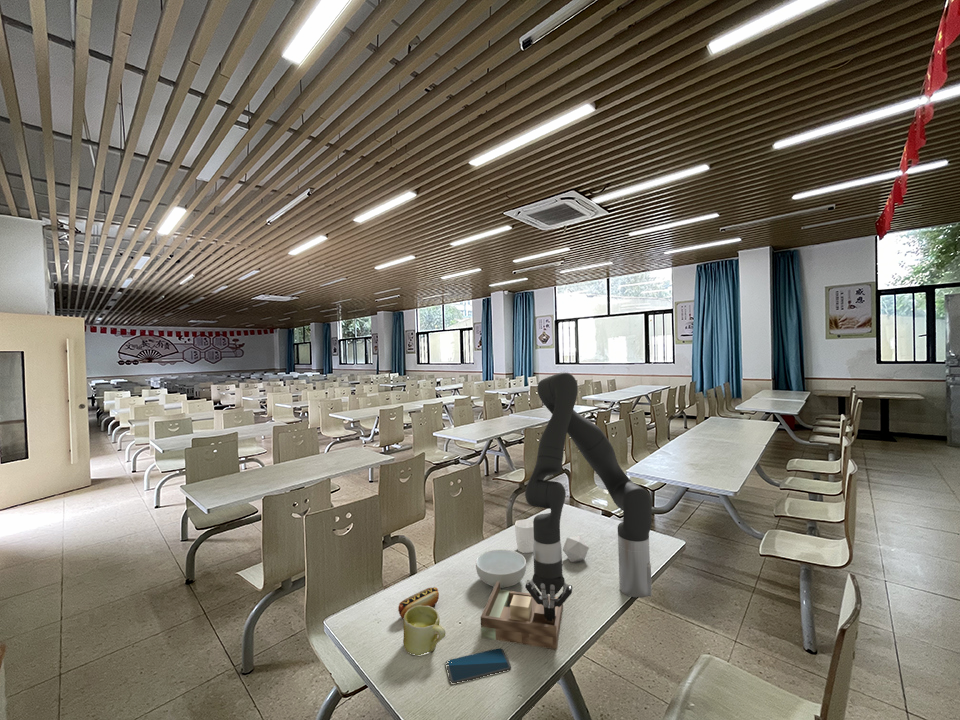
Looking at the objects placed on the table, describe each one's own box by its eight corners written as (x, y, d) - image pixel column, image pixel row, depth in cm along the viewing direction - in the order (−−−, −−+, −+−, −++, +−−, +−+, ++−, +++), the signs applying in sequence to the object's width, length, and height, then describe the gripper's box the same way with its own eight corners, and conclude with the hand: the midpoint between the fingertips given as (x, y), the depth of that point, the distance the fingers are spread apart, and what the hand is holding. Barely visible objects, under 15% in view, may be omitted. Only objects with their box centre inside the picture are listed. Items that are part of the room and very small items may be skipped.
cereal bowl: (520, 599, 129) (519, 577, 128) (469, 591, 134) (468, 570, 134) (531, 571, 145) (530, 551, 145) (485, 565, 150) (485, 546, 150)
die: (586, 568, 146) (595, 541, 150) (564, 557, 146) (573, 530, 150) (577, 566, 154) (586, 540, 158) (556, 555, 154) (565, 530, 158)
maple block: (532, 614, 116) (531, 596, 116) (529, 626, 111) (528, 607, 111) (514, 612, 118) (513, 594, 118) (510, 623, 113) (509, 605, 113)
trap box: (563, 607, 124) (562, 589, 124) (556, 649, 107) (556, 628, 106) (497, 598, 129) (496, 581, 129) (481, 637, 112) (480, 617, 112)
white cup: (520, 555, 156) (519, 529, 156) (512, 546, 164) (512, 521, 164) (539, 552, 158) (538, 525, 158) (531, 543, 166) (530, 518, 166)
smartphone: (512, 671, 100) (512, 667, 100) (450, 687, 96) (450, 683, 96) (502, 650, 108) (502, 646, 108) (444, 663, 104) (444, 660, 104)
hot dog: (443, 605, 127) (442, 589, 127) (405, 625, 118) (404, 608, 118) (433, 598, 131) (432, 583, 131) (396, 618, 122) (395, 601, 122)
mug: (388, 640, 110) (401, 602, 110) (419, 633, 117) (431, 598, 117) (413, 674, 101) (427, 633, 101) (445, 665, 108) (457, 627, 108)
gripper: (573, 551, 114) (575, 614, 114) (525, 546, 118) (527, 607, 118) (571, 564, 107) (574, 632, 107) (520, 559, 110) (523, 624, 111)
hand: (549, 619), depth 112 cm, fingers closed
